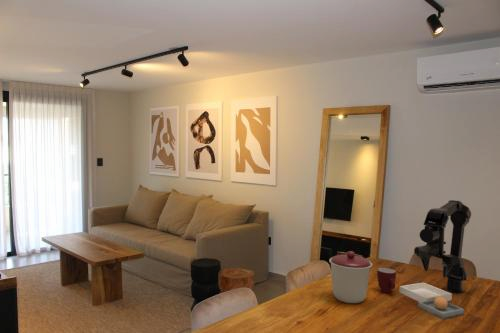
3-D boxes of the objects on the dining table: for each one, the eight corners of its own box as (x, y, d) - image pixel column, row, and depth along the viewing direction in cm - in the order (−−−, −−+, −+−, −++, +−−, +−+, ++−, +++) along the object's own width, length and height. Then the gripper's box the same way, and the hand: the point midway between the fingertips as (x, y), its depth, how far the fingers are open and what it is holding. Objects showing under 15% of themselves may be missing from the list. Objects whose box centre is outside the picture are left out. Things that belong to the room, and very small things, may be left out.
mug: (402, 296, 175) (403, 274, 174) (387, 297, 172) (388, 275, 172) (387, 287, 185) (388, 267, 184) (372, 289, 182) (373, 268, 182)
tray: (438, 303, 167) (438, 298, 167) (463, 314, 156) (464, 309, 156) (418, 307, 162) (418, 302, 162) (442, 319, 151) (443, 313, 151)
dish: (423, 288, 185) (423, 282, 185) (451, 300, 171) (451, 293, 171) (399, 292, 179) (399, 286, 179) (426, 305, 165) (427, 298, 165)
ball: (439, 305, 163) (439, 294, 163) (450, 310, 158) (450, 298, 158) (431, 307, 161) (431, 295, 160) (441, 312, 156) (441, 299, 156)
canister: (377, 299, 170) (380, 251, 169) (358, 311, 156) (360, 259, 155) (341, 288, 182) (342, 244, 181) (319, 298, 169) (321, 250, 168)
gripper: (405, 235, 172) (404, 270, 173) (442, 246, 155) (441, 284, 156) (423, 233, 177) (422, 267, 178) (461, 243, 160) (459, 280, 161)
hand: (435, 274), depth 168 cm, fingers open, 9 cm apart
